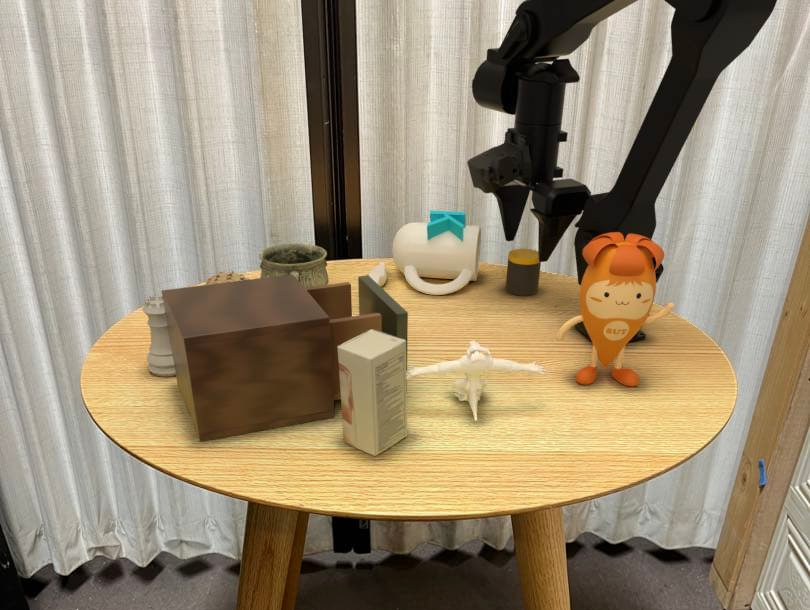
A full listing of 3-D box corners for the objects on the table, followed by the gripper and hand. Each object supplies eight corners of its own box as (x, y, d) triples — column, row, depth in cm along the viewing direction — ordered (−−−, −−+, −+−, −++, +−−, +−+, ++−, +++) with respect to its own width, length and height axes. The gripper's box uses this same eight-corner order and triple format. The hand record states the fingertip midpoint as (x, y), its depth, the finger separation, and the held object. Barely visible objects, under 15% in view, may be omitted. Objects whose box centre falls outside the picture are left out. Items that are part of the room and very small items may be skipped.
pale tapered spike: (373, 271, 119) (373, 258, 117) (391, 272, 118) (391, 259, 117) (354, 310, 107) (353, 296, 106) (374, 312, 106) (374, 297, 105)
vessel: (332, 316, 105) (330, 267, 101) (262, 319, 104) (257, 270, 100) (326, 283, 114) (324, 237, 111) (262, 286, 113) (257, 239, 110)
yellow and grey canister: (527, 283, 115) (531, 246, 112) (543, 293, 112) (547, 256, 109) (499, 286, 114) (502, 250, 111) (514, 297, 111) (518, 260, 108)
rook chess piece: (153, 381, 90) (140, 310, 85) (144, 365, 93) (130, 295, 88) (194, 373, 92) (183, 303, 87) (183, 357, 95) (172, 289, 90)
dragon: (534, 374, 89) (549, 324, 82) (544, 429, 86) (561, 383, 79) (396, 379, 88) (399, 329, 81) (401, 436, 85) (405, 389, 78)
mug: (394, 197, 113) (481, 202, 111) (398, 251, 121) (480, 256, 119) (379, 257, 107) (471, 263, 105) (385, 309, 115) (470, 315, 113)
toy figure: (553, 388, 89) (571, 248, 80) (548, 357, 96) (565, 224, 87) (664, 393, 89) (694, 252, 80) (652, 361, 95) (679, 228, 86)
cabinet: (299, 367, 93) (292, 274, 87) (334, 417, 84) (329, 317, 77) (177, 386, 89) (161, 290, 82) (200, 441, 80) (183, 337, 73)
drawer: (379, 349, 95) (378, 273, 90) (417, 391, 86) (419, 310, 81) (262, 367, 91) (254, 289, 85) (291, 414, 82) (284, 330, 77)
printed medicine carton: (374, 422, 83) (373, 327, 77) (408, 437, 81) (409, 339, 75) (339, 442, 80) (334, 344, 74) (373, 458, 77) (371, 358, 71)
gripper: (446, 112, 105) (442, 237, 114) (515, 141, 91) (504, 281, 100) (523, 106, 108) (513, 228, 118) (602, 134, 94) (583, 270, 104)
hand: (525, 250), depth 110 cm, fingers open, 9 cm apart
